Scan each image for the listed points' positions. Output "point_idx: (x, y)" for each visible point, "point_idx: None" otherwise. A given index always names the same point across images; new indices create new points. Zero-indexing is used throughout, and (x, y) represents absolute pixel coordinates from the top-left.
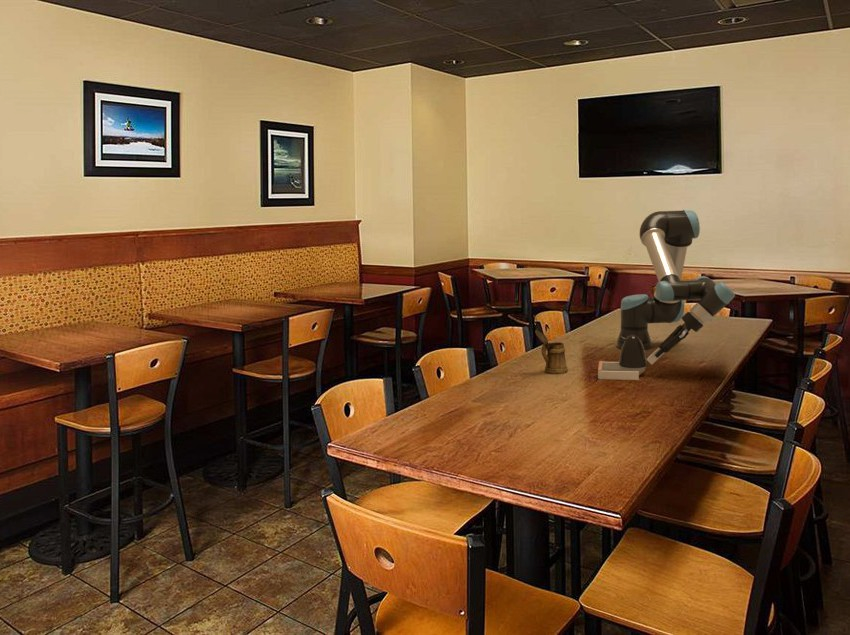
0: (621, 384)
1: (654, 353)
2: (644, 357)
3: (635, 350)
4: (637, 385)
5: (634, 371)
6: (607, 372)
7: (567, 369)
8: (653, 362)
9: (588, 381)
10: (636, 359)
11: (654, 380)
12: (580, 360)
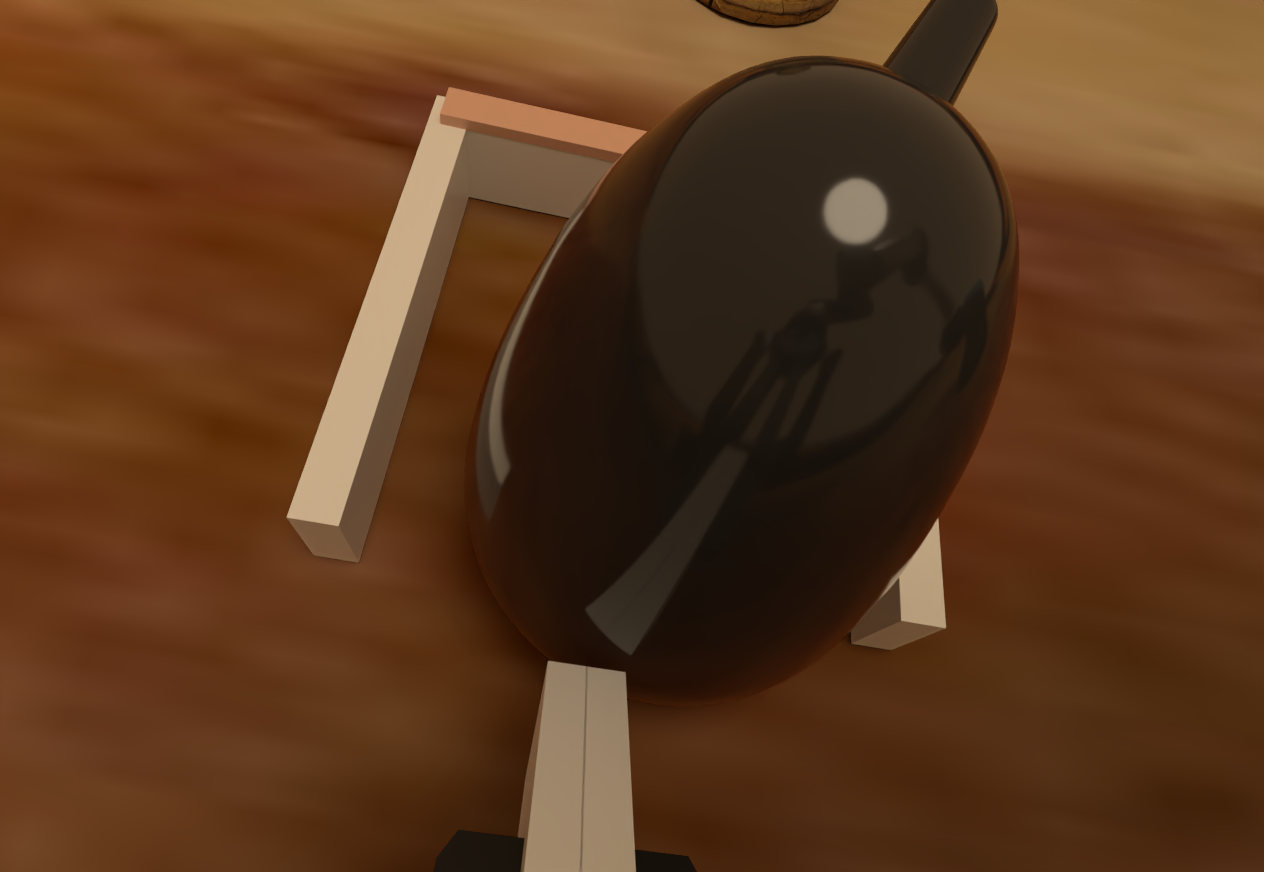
0: (137, 320)
1: (527, 838)
2: (571, 613)
3: (517, 354)
4: (15, 484)
5: (344, 465)
6: (410, 181)
7: (752, 4)
8: (521, 810)
9: (357, 80)
10: (476, 452)
11: (245, 781)
12: (1187, 184)
